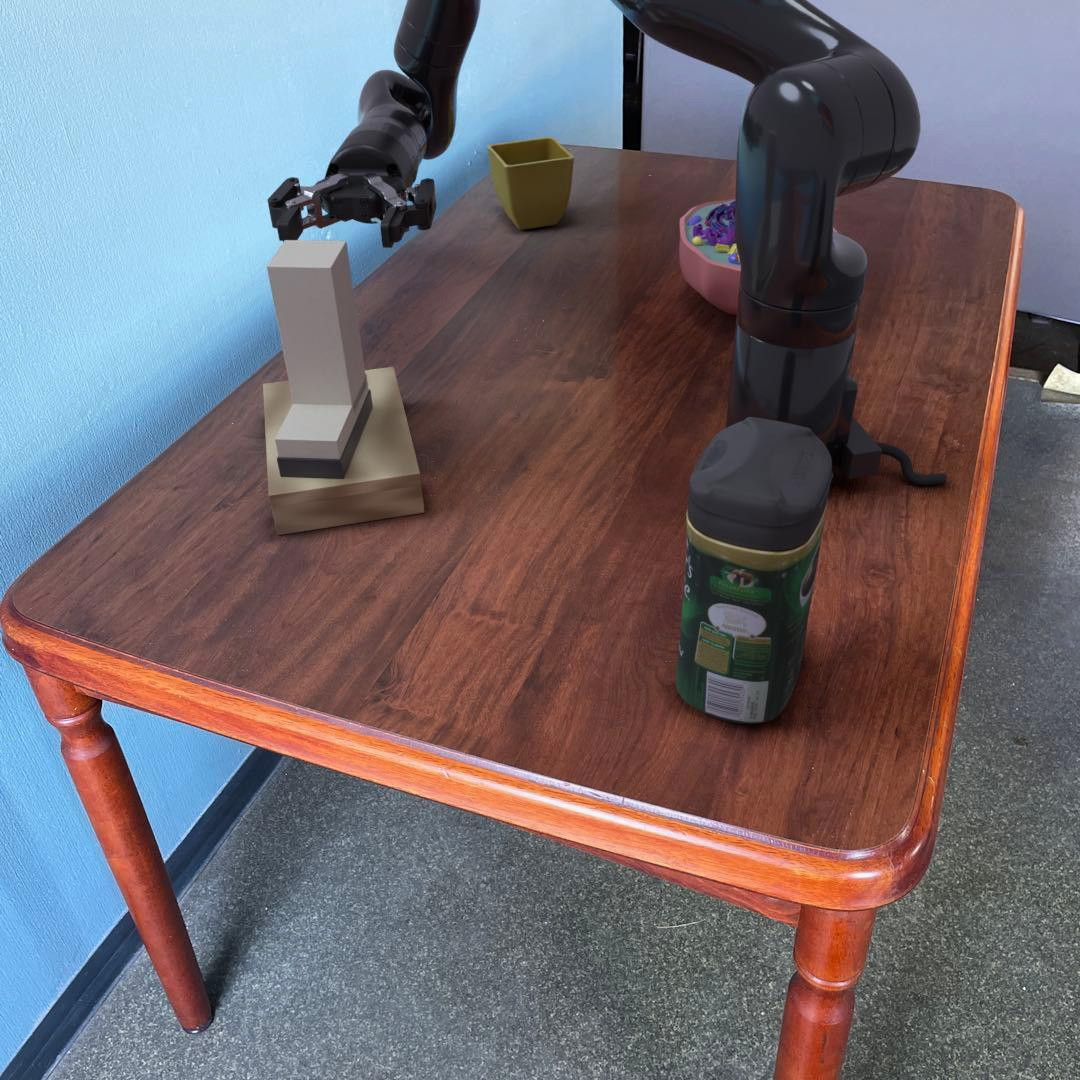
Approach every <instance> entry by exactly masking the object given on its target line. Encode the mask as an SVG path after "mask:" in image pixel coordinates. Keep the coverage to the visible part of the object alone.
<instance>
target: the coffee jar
mask: <svg viewBox="0 0 1080 1080" xmlns="http://www.w3.org/2000/svg"><path fill="white" fill-rule="evenodd" d="M832 478H833V473H832V459H831V456H830V453H829V451H828V449H827V448H826V446H825V445H824V444H823V442H822V441H821V440H820V439H819V438H818V437H817V436H816V435H815V434H814V433H813V432H812V430H811V429H809V428H806V427H802V426H798V425H794V424H789V423H785V422H780V421H774V420H768V419H762V418H755V417H748V418H746V419H745V420H743V421H741V422H738V423H736V424H733V425H731V426H729V427H727V428H726V427H725V428H724V429H722V430H720V431H719V432H718V433H716V434H715V435H714V436H713V437H712V438H711V440H709V443H708V444H707V446H706V447H705V449H704V450H703V451H702V452H701V454H700V456H699V458H698V459H697V461H696V464H695V466H694V468H693V470H692V474H691V475H690V478H689V483H688V498H687V508H686V517H685V519H686V552H685V553H686V554H685V569H684V582H683V594H682V605H681V606H682V608H681V619H680V629H679V638H678V639H679V641H678V652H677V661H676V673H675V686H676V690H677V693H678V695H679V696H680V697H681V699H682V700H683V701H684V702H685V703H686V704H687V705H689V706H690V707H692V708H693V709H695V710H697V711H699V712H700V713H702V714H704V715H706V716H708V717H711V718H714V719H717V720H721V721H723V722H727V723H732V724H742V725H759V724H765V723H767V722H768V723H769V722H771V721H773V720H774V719H776V718H777V717H778V716H779V715H780V714H781V713H782V712H783V711H784V710H785V708H786V707H787V705H788V703H789V701H790V699H791V697H792V695H793V693H794V690H795V687H796V685H797V682H798V679H799V676H800V673H801V672H800V671H801V667H802V662H803V657H804V656H803V655H804V650H805V644H806V637H807V630H808V624H809V623H808V622H809V617H810V609H811V603H812V597H813V593H814V592H813V591H814V587H815V581H816V580H815V579H816V575H817V568H818V562H819V557H820V550H821V543H822V538H823V532H824V526H825V520H826V513H827V507H828V502H829V494H830V489H831V485H830V483H831V480H832Z"/></svg>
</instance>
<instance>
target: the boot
mask: <svg viewBox="0 0 1080 1080" xmlns="http://www.w3.org/2000/svg"><path fill="white" fill-rule="evenodd" d="M350 264H351V263H350V257H349V250H348V243H347V240H309V239H308V240H303V239H302V240H300V239H298V240H285V241H284V242H283V241H282V243H281V245H280V246H279V247H278V249H277V251H276V252H275V254H274V255H273V256H272V258H271V259H270V261H269V262H268V264H266V270H267V277H268V281H269V286H270V293H271V296H272V297H271V298H272V303H273V308H274V312H275V318H276V323H277V328H278V333H279V336H280V337H279V339H280V343H281V348H282V354H283V358H284V364H285V368H286V374H287V379H288V380H289V385H290V390H291V395H292V400H293V405H292V407H291V409H290V411H289V413H288V415H287V417H286V419H285V420H284V422H283V424H282V426H281V428H280V430H279V432H278V434H277V436H276V438H275V443H276V447H277V452H278V457H277V462H278V467H279V472H280V476H281V477H301V478H331V479H344V477H345V474H346V472H347V469H348V467H349V464H350V462H351V460H352V457H353V455H354V452H355V450H356V447H357V445H358V442H359V440H360V437H361V435H362V433H363V430H364V428H365V425H366V423H367V420H368V418H369V415H370V413H371V410H372V408H373V404H372V397H371V390H369V388H368V381H367V374H366V373H365V370H366V369H365V361H364V356H363V355H364V354H363V348H362V341H361V334H360V327H359V320H358V313H357V307H356V300H355V292H354V285H353V278H352V271H351V265H350ZM288 380H287V381H288Z"/></svg>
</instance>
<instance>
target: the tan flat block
mask: <svg viewBox="0 0 1080 1080" xmlns="http://www.w3.org/2000/svg"><path fill="white" fill-rule="evenodd" d="M365 373H366V374H367V381H368V388H369V390H371V397H372V404H373V408H372V410H371V413H370V415H369V418H368V420H367V423H366V425H365V428H364V430H363V433H362V435H361V437H360V440H359V442H358V445H357V447H356V450H355V452H354V455H353V457H352V460H351V462H350V464H349V467H348V469H347V472H346V474H345V477H344V479H331V478H301V477H281V476H280V472H279V467H278V462H277V457H278V452H277V447H276V443H275V438H276V436H277V434H278V432H279V430H280V428H281V426H282V424H283V422H284V420H285V419H286V417H287V415H288V413H289V411H290V409H291V407H292V405H293V400H292V395H291V390H290V385H289V380H281V381H274V382H273V381H272V382H267V383H263V384H262V391H263V413H264V430H265V431H264V435H265V452H266V470H267V471H266V473H267V493H268V499H269V504H270V508H271V513H272V517H273V522H274V526H275V531H276V534H277V536H281V535H282V536H283V535H290V534H295V533H301V532H302V533H303V532H308V531H315V530H321V529H327V528H334V527H335V528H336V527H341V526H347V525H353V524H360V523H367V522H374V521H379V520H386V519H392V518H399V517H404V516H405V517H406V516H412V515H419V514H424V513H425V503H424V494H423V485H422V477H421V470H420V467H419V463H418V459H417V455H416V451H415V446H414V443H413V439H412V435H411V431H410V427H409V422H408V418H407V414H406V410H405V406H404V403H403V398H402V394H401V390H400V387H399V381H398V377H397V374H396V370H395V367H394V366H388V367H379V368H373V369H365Z"/></svg>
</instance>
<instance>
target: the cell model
mask: <svg viewBox="0 0 1080 1080" xmlns="http://www.w3.org/2000/svg"><path fill="white" fill-rule="evenodd" d="M735 198H736V197H734V198H729V199H723V200H713V201H707V202H702V203H700V204H697V205H695V206H693V207H691V208H690V209H689V210H688V211H687V212H686V213H684V214H683V216H682V217H680V218H679V241H678V259H679V269H680V272H681V276H682V278H683V280H684V281H685V282H686V283H687V284H688V285H689V286H690V287H691V288H692V289H693V290H694V291H695V292H696V293H698V295H699V296H701V297H702V298H703V299H704V300H706V302H708V303H709V304H711V305H712V306H713V307H715V308H716V309H718V310H719V311H721V312H724V313H725V314H727V315H731V316H735V317H736V316H737V305H738V295H739V285H740V272H741V264H740V259H739V255H738V251H737V247H736V241H735V231H734V221H735ZM833 231H834V232H837V233H839V232H838V231H837V229H836V228H835V227H834V226H833Z"/></svg>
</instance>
